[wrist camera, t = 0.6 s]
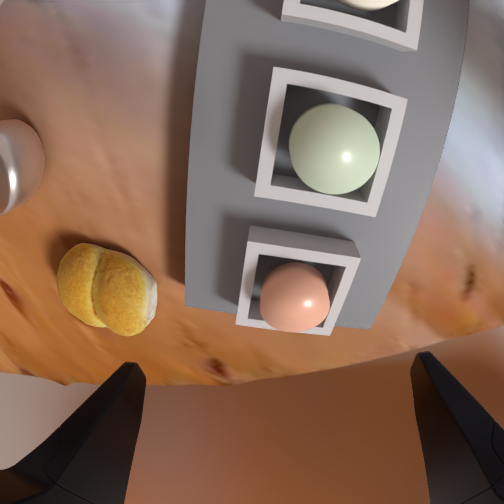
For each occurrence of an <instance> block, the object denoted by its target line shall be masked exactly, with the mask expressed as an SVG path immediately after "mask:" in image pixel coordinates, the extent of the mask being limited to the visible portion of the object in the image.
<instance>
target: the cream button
mask: <svg viewBox="0 0 504 504" xmlns="http://www.w3.org/2000/svg"><path fill="white" fill-rule="evenodd" d="M336 1H337V2H339V3H341V4H343V5H345V6H347V7H349V8H352V9H356V10H361V11H375V10H380V9H382V8H385V7H387V6H389V5H391V4H393V3H395V2H397V1H399V0H336Z"/></svg>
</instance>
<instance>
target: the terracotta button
mask: <svg viewBox="0 0 504 504" xmlns="http://www.w3.org/2000/svg"><path fill="white" fill-rule="evenodd" d="M329 309H330V301H329V295H328V290H327V285H326V281H325V278H324V276H323V275H322V273H321V272H320V271H319V270H317V269H316V268H315V267H313V266H311V265H308V264H305V263H298V262H292V263H286V264H282V265H279V266H277V267H275V268H274V269H272V270H271V271H270V272H268V274H267V275H266V276H265V278H264V279H263V281H262V285H261V297H260V313H261V315H262V317H263V319H264V320H265V321H266V323H268V324H269V325H270V326H272V327H273V328H275V329H278V330H281V331H285V332H301V331H306V330H309V329H311V328H314V327H315V326H317V325H319V324H320V323H321V322H322V321H323V320H324V319H325V318H326V316H327V315H328V313H329Z"/></svg>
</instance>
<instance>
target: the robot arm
mask: <svg viewBox="0 0 504 504" xmlns="http://www.w3.org/2000/svg"><path fill="white" fill-rule="evenodd" d="M410 376H411V383H412V390H413V398H414V409H415V416H416V421H417V426H418V431H419V435H420V440H421V446H422V451H423V457H424V462H425V468H426V475H427V481H428V488H429V496H430V504H504V430H503V429H502V427H501V426H500V425H499V424H498V423H497V422H496V421H494V419H493V418H492V417H491V415H490V414H489V413H488V412H487V411H486V410H485V409H484V408H483V407H482V405H480V403H479V402H478V401H477V400H476V399H475V398H474V397H473V396H472V395H471V394H470V393H469V392H468V390H467V389H465V387H464V386H463V385H462V384H461V383H460V382H459V381H458V380H457V379H456V378H455V377H454V376H453V375H452V374H451V373H450V372H449V371H448V370H447V369H446V368H445V367H444V366H443V365H442V364H441V362H440V361H438V360H437V358H436V357H435V356H433V354H432V353H430V352H429V351H425V352H419V353H417V354H416V356H415V359H414V362H413V364H412V366H411V370H410ZM145 388H146V377H145V375H144V373H143V371H142V370H141V368H140V366H139V365H138V364H137V363H136V362H125V363H124V364H122V365H121V366H120V367H119V368H118V369H117V370H116V371H115V372H114V373H113V374H112V375H111V376H110V377H109V378H108V379H107V380H106V381H105V382H104V383H103V384H102V385H101V386H100V387H99V388H98V389H97V390H96V391H95V392H94V393H93V394H92V395H91V396H90V397H89V398H88V399H87V400H86V401H85V402H84V403H83V404H82V405H81V406H80V407H79V408H78V409H77V410H76V411H75V412H74V413H73V414H72V415H71V416H70V417H69V418H68V419H66V420H65V421H64V423H62V424H61V426H60V427H58V429H56V430H55V431H54V432H53V433H52V434H51V435H50V436H49V437H48V438H47V439H46V440H45V441H44V442H43V443H42V444H40V445H39V446H38V447H37V448H36V449H34V450H33V451H32V452H31V453H29V454H28V455H27V456H25V457H24V458H23V459H22V460H20V461H19V462H18V463H17V464H15V465H14V466H12V467H10V468H8V469H4V470H0V504H124V501H125V495H126V490H127V485H128V480H129V475H130V470H131V465H132V460H133V456H134V451H135V446H136V442H137V438H138V433H139V429H140V424H141V419H142V411H143V404H144V396H145Z"/></svg>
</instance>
